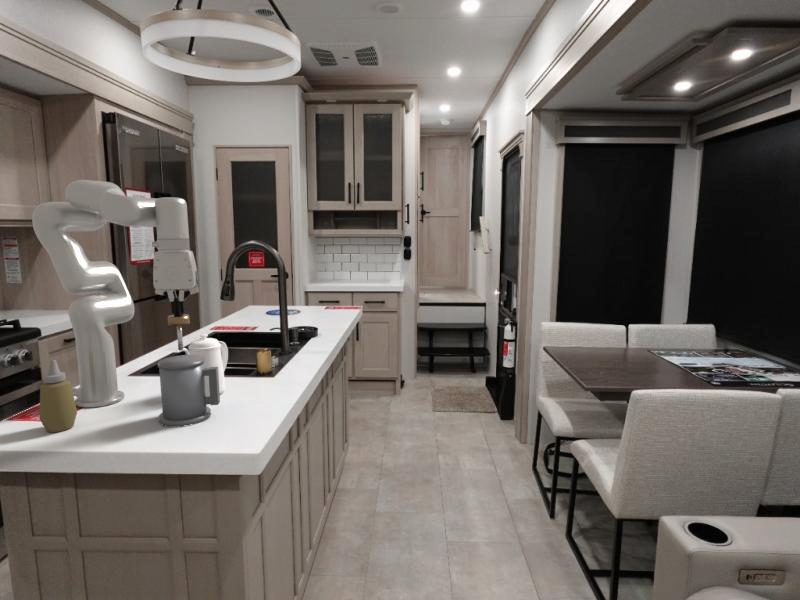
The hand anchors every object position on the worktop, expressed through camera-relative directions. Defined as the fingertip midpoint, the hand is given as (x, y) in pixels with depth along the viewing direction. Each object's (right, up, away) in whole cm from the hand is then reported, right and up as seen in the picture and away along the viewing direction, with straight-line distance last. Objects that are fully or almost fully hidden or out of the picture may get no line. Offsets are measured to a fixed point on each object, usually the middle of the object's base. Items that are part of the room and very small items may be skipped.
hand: (179, 315), depth 132 cm
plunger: (0, -9, +1) cm, 9 cm away
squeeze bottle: (-29, -29, -3) cm, 41 cm away
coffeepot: (-2, -25, +24) cm, 35 cm away
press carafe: (+1, -28, +4) cm, 28 cm away
